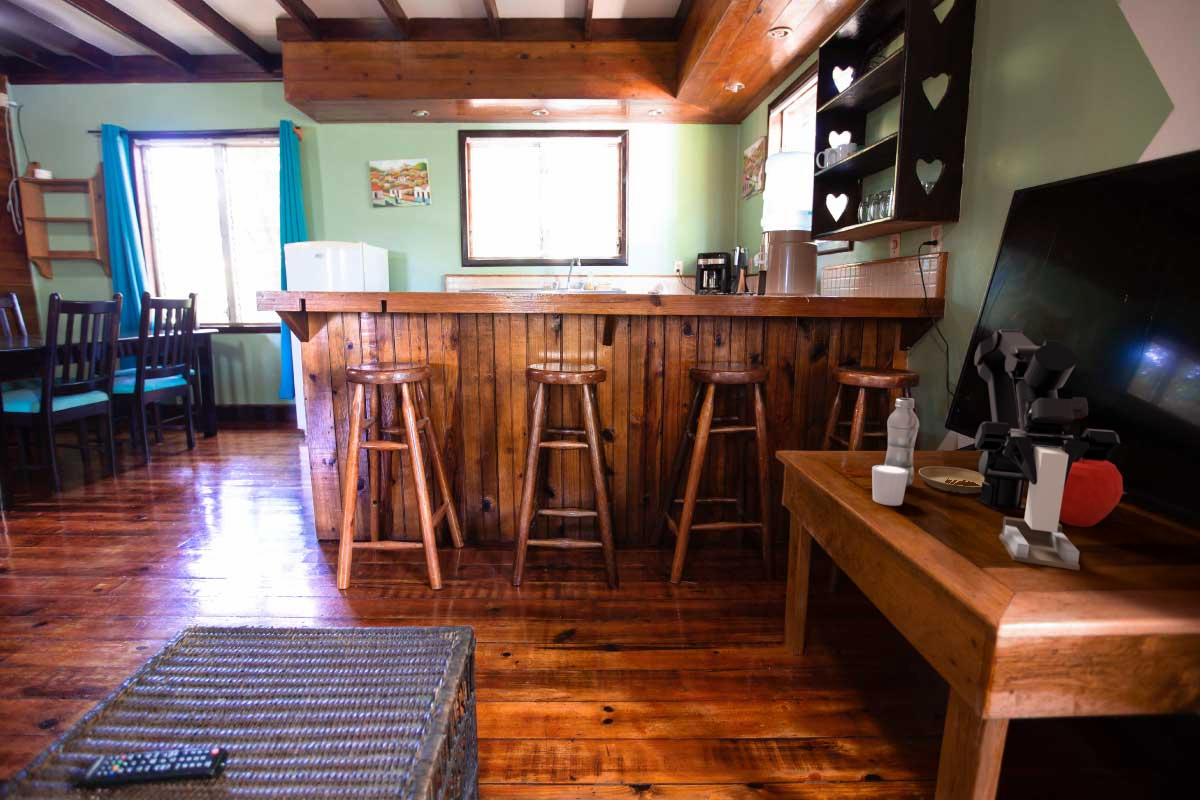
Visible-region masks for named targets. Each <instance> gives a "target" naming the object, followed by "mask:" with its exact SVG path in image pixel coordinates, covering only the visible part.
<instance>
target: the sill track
mask: <svg viewBox="0 0 1200 800" xmlns="http://www.w3.org/2000/svg"><path fill="white" fill-rule="evenodd" d="M998 538H999V540H1000V542H1001V543H1002V544H1003V546H1004V547H1005V549H1006V551H1007V552H1008V554H1009V556H1010V557H1011V559H1012V560H1013V561H1015V562H1021V563H1027V564H1036V565H1042V566H1048V567H1054V568H1055V567H1056V568H1063V569H1068V570H1073V571H1080V567H1081V565H1080V564H1079V559H1080V551H1079V549H1078V548H1076V546H1075V545H1074V544H1073V543H1072V542H1071V541H1070V540H1069V539H1068V537H1067V536H1066V534H1064V533H1063V526H1062V525H1061V523H1059V522H1058V529H1057V532H1049V531H1042V530H1034V529H1031V528H1030V527H1029V525H1028V524H1027V523H1026V521H1025V520H1024V518H1019V517H1013V516H1012V517H1010V516H1003V521H1002V530H1001V533H999V536H998Z"/></svg>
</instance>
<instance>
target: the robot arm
mask: <svg viewBox="0 0 1200 800" xmlns="http://www.w3.org/2000/svg"><path fill="white" fill-rule="evenodd" d="M1025 334H1026V333H1025V331H1024V330H1020V329H998V330H995V331H994V332H993V334H992V336H989V337H988V338H986V339H984V340H982V341H980V342H979V344H978V346H977V349H976V350H975V353H974V358H973V359H974V360H973V361H974V366H976V367H977V372H978V376H979V377H980V378H982V380H984V381H985V382H986V383H987V385H988V394H989V403H990V414H991V421H983V422H981V423H980V425H979V427H978V429H977V432H976V434H975V437H974V438H975V439H974V447H975V449H976V450H978V451H983V452H982V454H981V456H980V458H979V461H978V472H979V473H981V475H982V476H983V477H984V482H982V488H981V492H980V496H979V497H976V498H975V499H976V501H978V502H980V503H982V504H983V505H986V506H988V507H991V508H992V509H994V510H996V511H1026V505H1025V504H1022V503H1023V496H1024V490H1025V482H1031V483H1032V484H1033V485H1036V483H1037V472H1036V468H1035V463H1034V459H1033V453H1034V446H1039V447H1051V448H1060V449H1061V450H1063V451H1064V452H1065V453H1067V454H1068V455H1069V456H1068V462H1067V469H1066V476H1065V482H1064V487H1065V485H1066V483H1067V479H1068V476H1069V473H1070V470H1071V466H1072V464H1073V462H1078V461H1079V460H1080V459H1081V458H1082V459H1083V460H1095V461H1105V460H1107V461H1109V459H1110V458H1111V456H1112V455H1113V454H1114V452H1115V451H1116V450H1117V449H1118V448H1119V446H1120V445H1121V441H1120V436H1119V434H1117V432H1115V431H1114V430H1110V429H1099V428H1098V429H1096V428H1095V429H1093V428H1086V429H1085V430H1084V431H1083V433H1082V435H1081V436H1076V435H1075V436H1074V435H1073V434H1064V431H1066V432H1067V431H1068V430H1069V429H1070V428H1071V427H1070V421H1074V420H1075V419H1081V420H1082V419H1084V418H1085V417H1086V416H1088V414H1089V405H1088V401H1087V397H1084V396H1083V397H1082V396H1080V397H1079V396H1072V397H1071V398H1059V397H1058V390H1059V389H1062V388H1063V387H1064V385H1065V383H1066V382H1067V380H1068V378H1069V376H1070V375H1071V373H1072V372H1073V370H1074V368H1075V366H1076V365H1077V362H1078V357H1077V355H1076V354H1075V353H1074V352H1073V350H1071V349H1070V348H1067V347H1066V346H1063V345H1060V340H1047V339H1046V340H1044V342H1043V343H1042V346H1039V345H1036V344H1034V343H1033V342H1032V341H1031V339H1029V338H1028V337H1027V336H1026V335H1025ZM1014 379H1020V380H1018V382H1017V383H1016V385H1015V382H1014ZM1015 388H1016V389H1015Z"/></svg>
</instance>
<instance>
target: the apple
mask: <svg viewBox="0 0 1200 800" xmlns="http://www.w3.org/2000/svg"><path fill="white" fill-rule="evenodd" d="M1122 495H1124V485H1123V476H1122V474H1121V473H1120V471H1119V469H1118V468H1117V466H1116V464H1113V463H1112V462H1110V461H1109V460H1105V461H1095V460H1083V459H1082V458H1081V459H1080V460H1079V461H1078V462H1073V464H1072V466H1071V470H1070V473H1069V476H1068V479H1067V483H1066V485H1065V487H1064V489H1063V496H1062V502H1061V509H1060V516H1059V522H1062V523H1064V525H1065V524H1066V525H1068V526H1072V527H1077V528H1078V527H1079V528H1089V527H1093V526H1095V525H1096V524H1097V525H1098V523H1099V522H1101V521H1102V520H1103V519H1105V518H1106V517H1107V516H1108V515H1109V514H1110V513H1111V512H1112V511H1113V510H1114V508H1115V507H1116V506H1117V505H1118V503H1119V502H1120V500H1121V497H1122Z"/></svg>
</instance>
